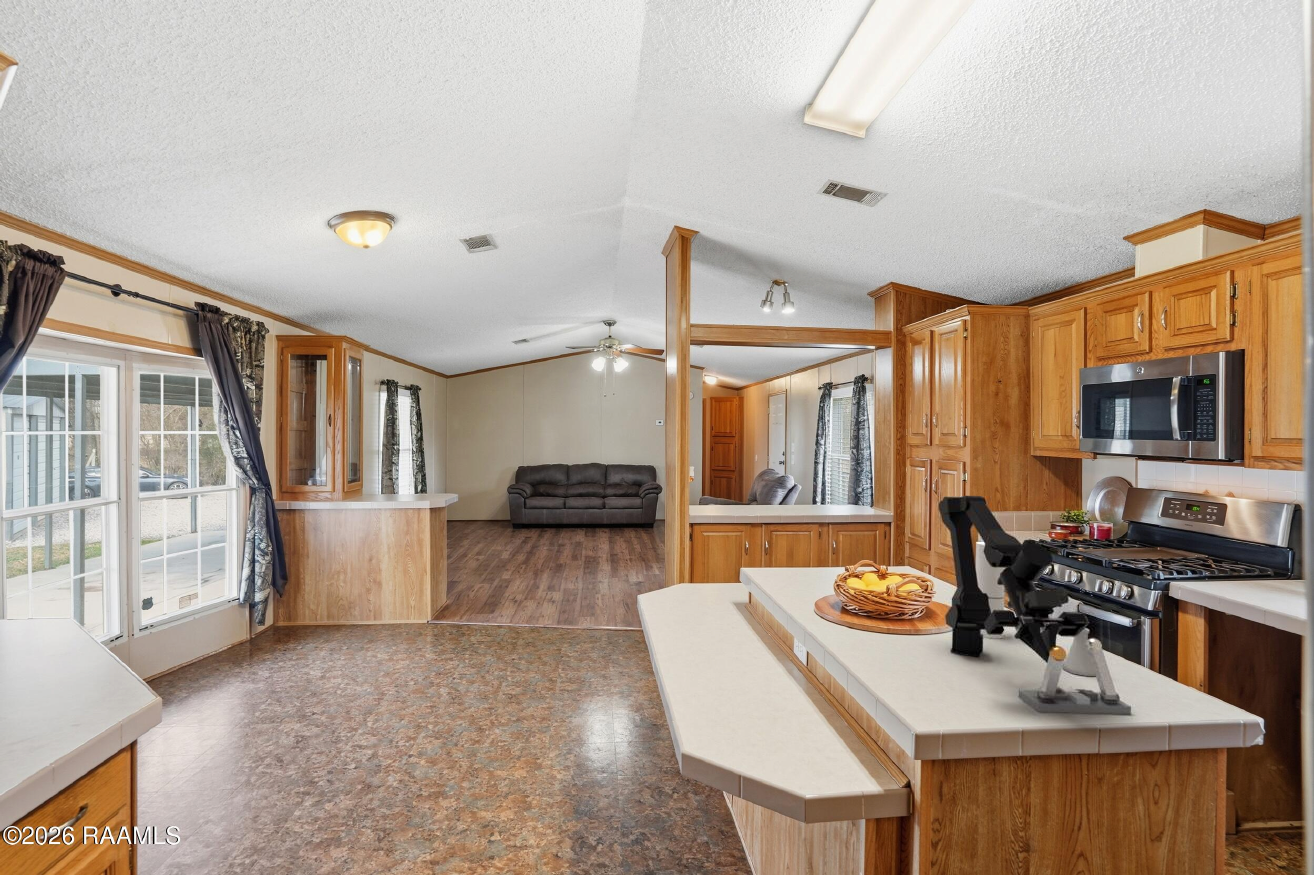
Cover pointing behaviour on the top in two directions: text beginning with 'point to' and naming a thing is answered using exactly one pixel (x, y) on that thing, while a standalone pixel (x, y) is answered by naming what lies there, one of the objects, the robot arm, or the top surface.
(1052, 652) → the orange knob lever
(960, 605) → the robot arm
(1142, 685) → the top surface
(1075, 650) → the flask
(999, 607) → the cylindrical container
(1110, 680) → the lever
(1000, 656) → the top surface
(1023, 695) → the panel
